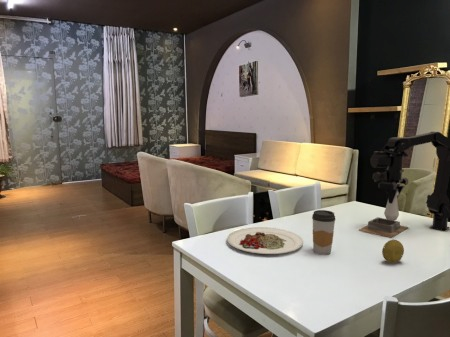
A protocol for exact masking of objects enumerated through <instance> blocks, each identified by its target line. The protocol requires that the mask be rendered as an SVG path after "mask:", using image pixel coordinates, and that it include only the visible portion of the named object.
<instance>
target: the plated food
mask: <svg viewBox="0 0 450 337" xmlns="http://www.w3.org/2000/svg"><path fill="white" fill-rule="evenodd" d="M226 241H227V243H228V244H229V245H230V246H232V247H233V248H236V249H237V250H240V251H244V252H246V253H253V254H259V255H260V254H261V255H275V254H276V255H278V254H286V253H291V252H294V251H297V250H299V249H300V248H301V247H302V246H303V244H304V240H303V238H302V237H301V235H299V234H297V233H295V232H292V231H289V230H286V229H281V228H276V227H275V228H274V227H265V226H264V227H260V226H258V227H254V226H253V227H246V228H241V229H236V230H235V231H232V232H230V233H229V234H228V236H227V238H226Z"/></svg>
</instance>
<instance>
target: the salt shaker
mask: <svg viewBox="0 0 450 337" xmlns="http://www.w3.org/2000/svg"><path fill="white" fill-rule="evenodd" d="M398 194H399V192H397V194H396V196H395V198H394V200H393V202H392V203H389V200H388V199H387V202H386V204H385V205H386V206H385V209H384V214H383V216H384V217H385V219H387V220H393V221H398V217H399V216H400V213H399V212H400V211H399V204H398V202H399V201H398V198H397V196H398Z"/></svg>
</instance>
